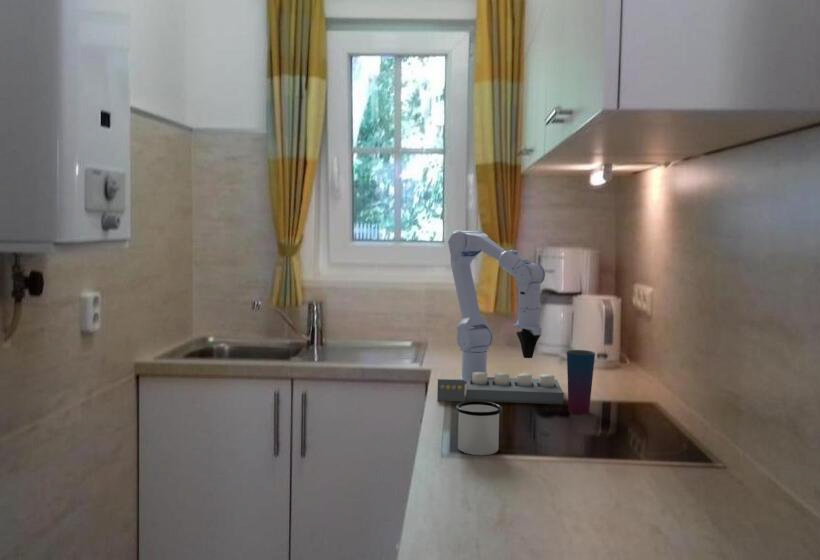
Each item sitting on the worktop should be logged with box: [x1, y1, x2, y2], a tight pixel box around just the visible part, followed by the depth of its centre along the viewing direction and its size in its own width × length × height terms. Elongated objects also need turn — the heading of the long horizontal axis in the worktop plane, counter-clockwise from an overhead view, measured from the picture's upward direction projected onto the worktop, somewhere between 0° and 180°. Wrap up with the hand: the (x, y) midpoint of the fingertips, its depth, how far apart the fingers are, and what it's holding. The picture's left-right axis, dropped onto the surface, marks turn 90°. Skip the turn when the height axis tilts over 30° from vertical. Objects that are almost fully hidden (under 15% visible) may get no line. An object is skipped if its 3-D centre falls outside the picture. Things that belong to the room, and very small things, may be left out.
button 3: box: [516, 372, 533, 387], centre depth 203 cm, size 4×4×3 cm
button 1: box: [472, 372, 488, 385], centre depth 204 cm, size 4×4×3 cm
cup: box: [566, 349, 596, 415], centre depth 186 cm, size 7×7×15 cm
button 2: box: [494, 372, 511, 386], centre depth 204 cm, size 4×4×3 cm
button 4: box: [538, 373, 555, 387], centre depth 203 cm, size 4×4×3 cm
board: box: [465, 376, 564, 405], centre depth 203 cm, size 16×25×3 cm, turn 85°
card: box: [436, 378, 466, 402], centre depth 196 cm, size 1×7×6 cm, turn 86°
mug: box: [455, 401, 503, 457], centre depth 156 cm, size 12×10×9 cm
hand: (527, 357), depth 205 cm, fingers closed
